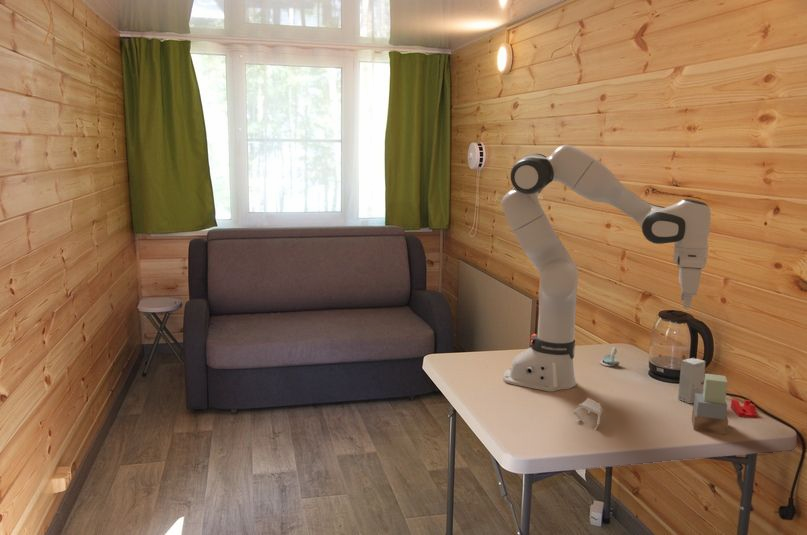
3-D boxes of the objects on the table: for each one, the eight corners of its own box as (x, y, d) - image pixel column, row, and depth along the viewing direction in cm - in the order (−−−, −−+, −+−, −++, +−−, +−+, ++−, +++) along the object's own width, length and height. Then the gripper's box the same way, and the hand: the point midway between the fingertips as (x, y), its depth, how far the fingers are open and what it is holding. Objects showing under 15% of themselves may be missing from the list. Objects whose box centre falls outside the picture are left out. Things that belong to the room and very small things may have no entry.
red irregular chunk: (730, 408, 195) (731, 399, 195) (748, 409, 195) (749, 400, 194) (738, 417, 189) (739, 407, 189) (756, 418, 189) (758, 408, 188)
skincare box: (690, 404, 197) (694, 364, 195) (676, 399, 201) (680, 360, 199) (702, 400, 201) (707, 361, 198) (689, 395, 204) (693, 356, 202)
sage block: (704, 401, 179) (706, 379, 178) (702, 394, 184) (705, 373, 183) (724, 403, 177) (727, 382, 176) (722, 397, 182) (725, 376, 181)
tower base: (693, 430, 180) (695, 416, 179) (691, 419, 187) (693, 405, 186) (726, 435, 177) (728, 421, 176) (723, 423, 185) (724, 409, 184)
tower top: (696, 416, 179) (698, 402, 178) (693, 406, 186) (695, 393, 185) (725, 420, 177) (727, 405, 176) (721, 410, 184) (723, 396, 183)
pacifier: (603, 368, 228) (621, 368, 228) (603, 350, 227) (621, 350, 227) (597, 361, 236) (614, 361, 235) (598, 343, 234) (615, 343, 234)
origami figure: (565, 415, 187) (566, 399, 186) (592, 413, 190) (593, 396, 189) (588, 433, 176) (589, 416, 175) (616, 430, 178) (618, 413, 177)
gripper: (676, 250, 203) (671, 295, 205) (680, 261, 184) (675, 311, 186) (699, 252, 201) (694, 297, 203) (705, 263, 182) (700, 313, 184)
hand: (685, 304), depth 195 cm, fingers open, 8 cm apart
